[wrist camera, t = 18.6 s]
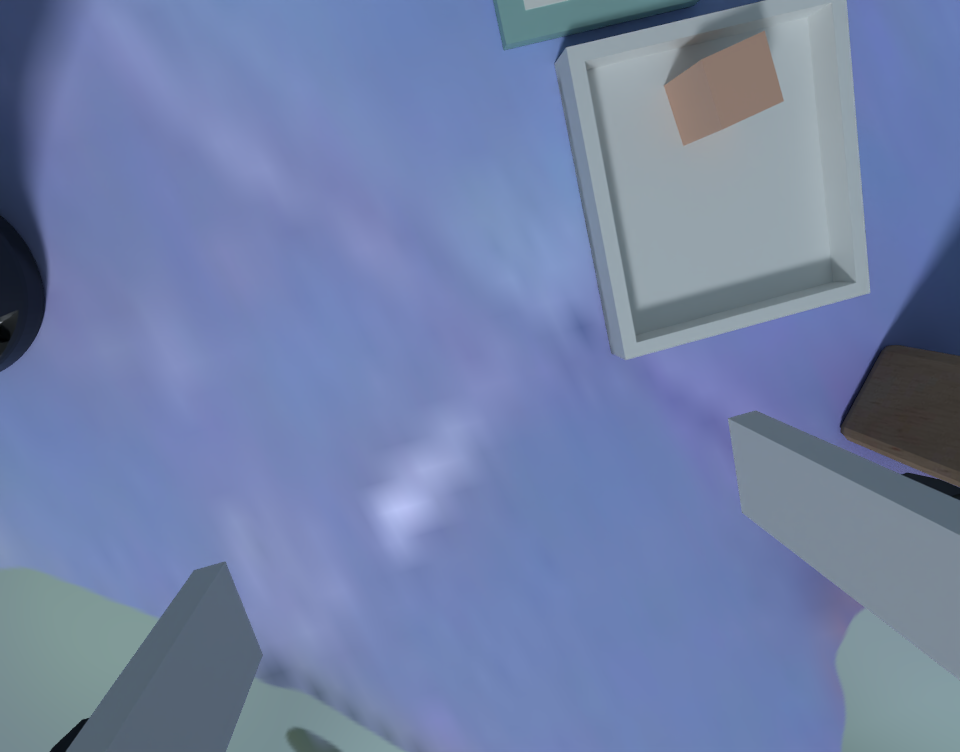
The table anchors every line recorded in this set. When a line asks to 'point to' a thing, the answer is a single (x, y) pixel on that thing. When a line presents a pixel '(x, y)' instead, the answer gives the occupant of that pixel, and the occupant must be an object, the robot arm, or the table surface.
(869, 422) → the wooden block
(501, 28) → the board
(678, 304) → the tray
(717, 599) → the table surface
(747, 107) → the clay cube
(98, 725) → the robot arm
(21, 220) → the table surface
